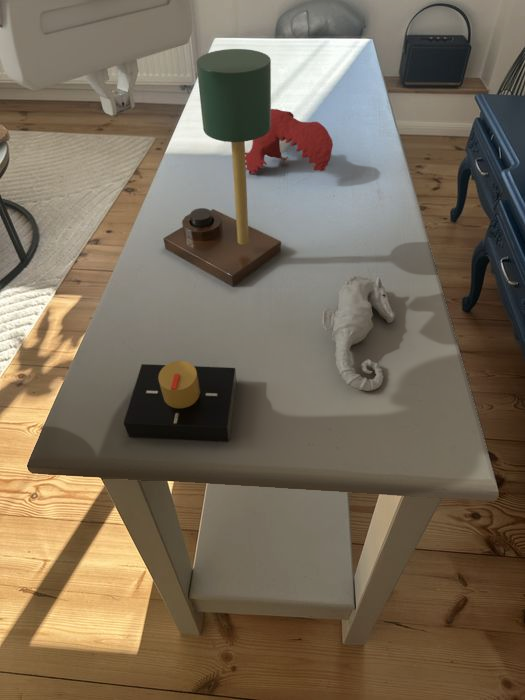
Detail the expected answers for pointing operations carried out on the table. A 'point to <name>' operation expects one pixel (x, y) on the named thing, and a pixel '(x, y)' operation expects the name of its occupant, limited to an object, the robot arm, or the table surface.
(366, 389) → the seahorse
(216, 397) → the dimmer
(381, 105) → the table surface
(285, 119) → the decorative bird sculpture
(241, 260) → the lamp base
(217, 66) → the lamp
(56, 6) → the robot arm
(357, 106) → the table surface
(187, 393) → the dimmer knob
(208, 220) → the button
